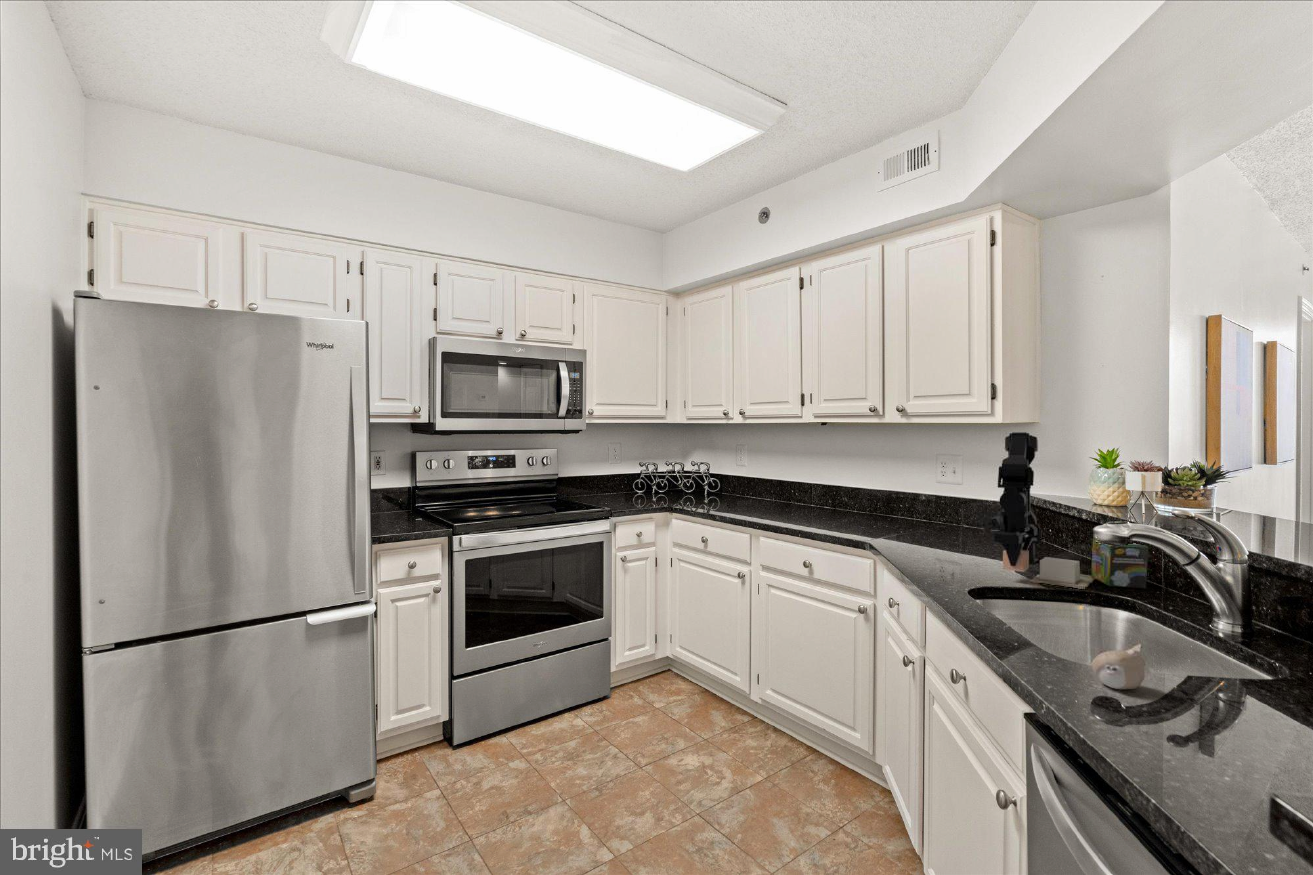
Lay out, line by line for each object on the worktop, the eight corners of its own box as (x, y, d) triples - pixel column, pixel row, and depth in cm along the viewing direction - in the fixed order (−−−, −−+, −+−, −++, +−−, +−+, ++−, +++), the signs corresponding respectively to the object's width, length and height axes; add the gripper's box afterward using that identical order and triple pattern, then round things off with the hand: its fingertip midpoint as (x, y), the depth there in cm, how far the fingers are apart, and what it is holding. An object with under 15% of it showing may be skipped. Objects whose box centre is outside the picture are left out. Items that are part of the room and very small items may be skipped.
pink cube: (1008, 565, 168) (1008, 548, 168) (1028, 568, 164) (1028, 550, 164) (1003, 568, 164) (1002, 551, 164) (1023, 571, 161) (1023, 553, 161)
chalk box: (1126, 579, 164) (1129, 525, 163) (1147, 589, 155) (1151, 532, 154) (1089, 576, 166) (1092, 524, 165) (1108, 586, 157) (1111, 531, 156)
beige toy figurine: (1122, 698, 95) (1122, 648, 95) (1084, 681, 101) (1083, 635, 101) (1153, 692, 97) (1152, 643, 97) (1113, 676, 103) (1113, 631, 103)
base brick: (1079, 579, 163) (1079, 561, 163) (1074, 583, 159) (1074, 564, 159) (1045, 574, 169) (1045, 556, 169) (1039, 578, 165) (1039, 560, 165)
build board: (1046, 571, 175) (1045, 569, 175) (1096, 578, 166) (1095, 575, 166) (1030, 582, 164) (1030, 579, 164) (1083, 590, 155) (1083, 587, 155)
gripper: (994, 502, 176) (994, 554, 177) (972, 509, 163) (972, 565, 164) (1037, 505, 168) (1038, 560, 169) (1017, 512, 155) (1018, 572, 156)
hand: (1015, 564), depth 164 cm, fingers closed on pink cube, 5 cm apart
